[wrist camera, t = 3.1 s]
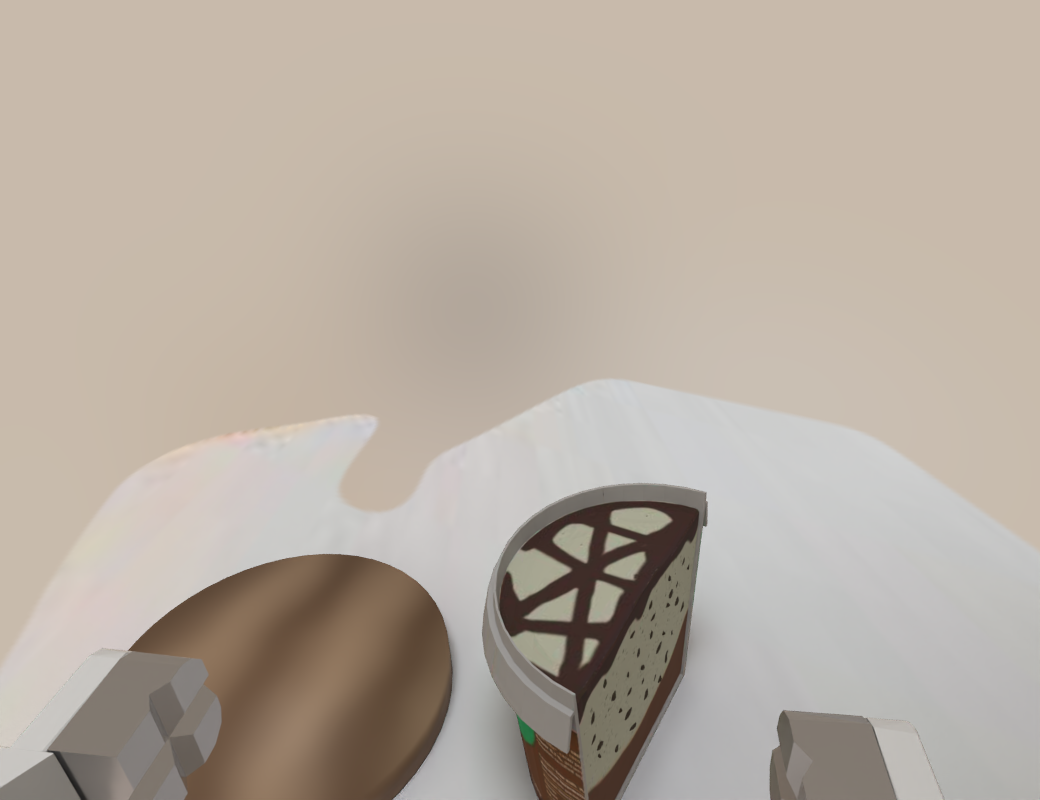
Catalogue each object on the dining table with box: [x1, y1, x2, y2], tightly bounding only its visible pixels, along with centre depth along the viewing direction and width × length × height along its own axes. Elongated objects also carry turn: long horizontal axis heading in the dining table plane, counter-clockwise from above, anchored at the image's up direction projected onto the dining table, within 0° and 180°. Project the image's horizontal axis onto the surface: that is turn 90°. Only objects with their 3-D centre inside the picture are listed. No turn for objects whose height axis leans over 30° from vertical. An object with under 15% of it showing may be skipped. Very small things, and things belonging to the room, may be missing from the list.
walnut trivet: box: [128, 554, 452, 800], centre depth 32 cm, size 16×16×2 cm
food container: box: [482, 483, 707, 800], centre depth 28 cm, size 12×6×10 cm, turn 147°
